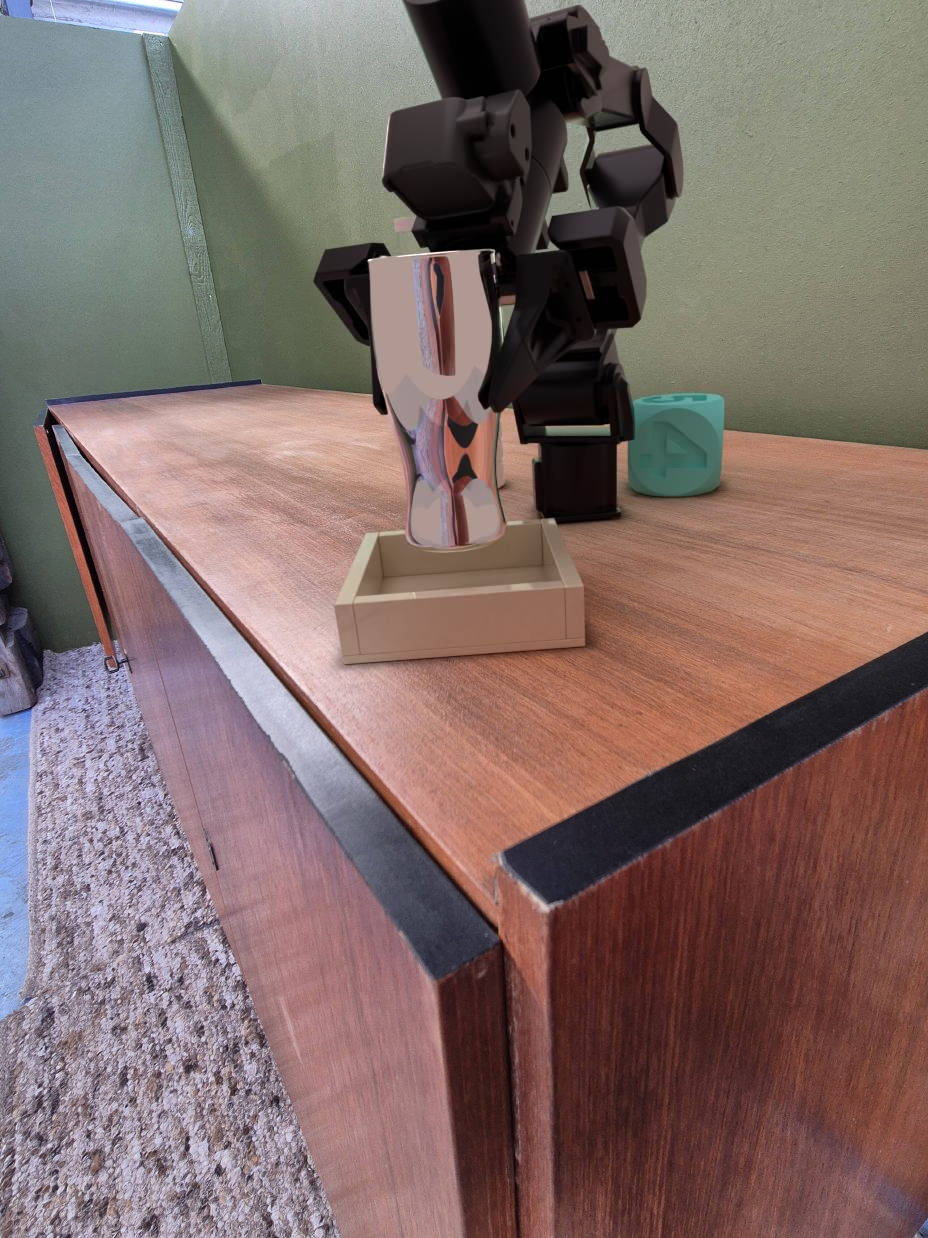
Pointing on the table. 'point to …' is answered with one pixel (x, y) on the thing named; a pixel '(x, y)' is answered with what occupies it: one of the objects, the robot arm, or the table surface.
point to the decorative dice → (676, 444)
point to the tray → (461, 597)
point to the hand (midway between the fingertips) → (434, 409)
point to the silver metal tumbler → (442, 390)
